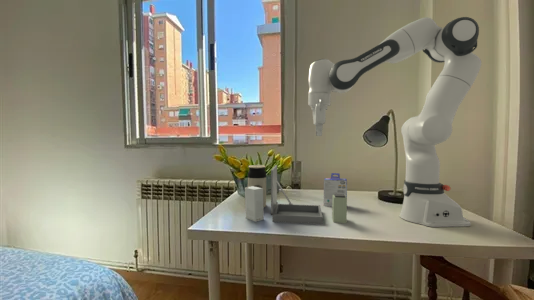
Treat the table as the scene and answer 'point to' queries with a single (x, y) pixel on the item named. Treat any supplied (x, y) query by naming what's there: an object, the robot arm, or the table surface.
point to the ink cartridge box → (334, 188)
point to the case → (292, 207)
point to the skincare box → (254, 203)
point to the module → (339, 208)
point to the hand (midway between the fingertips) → (318, 135)
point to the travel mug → (258, 179)
